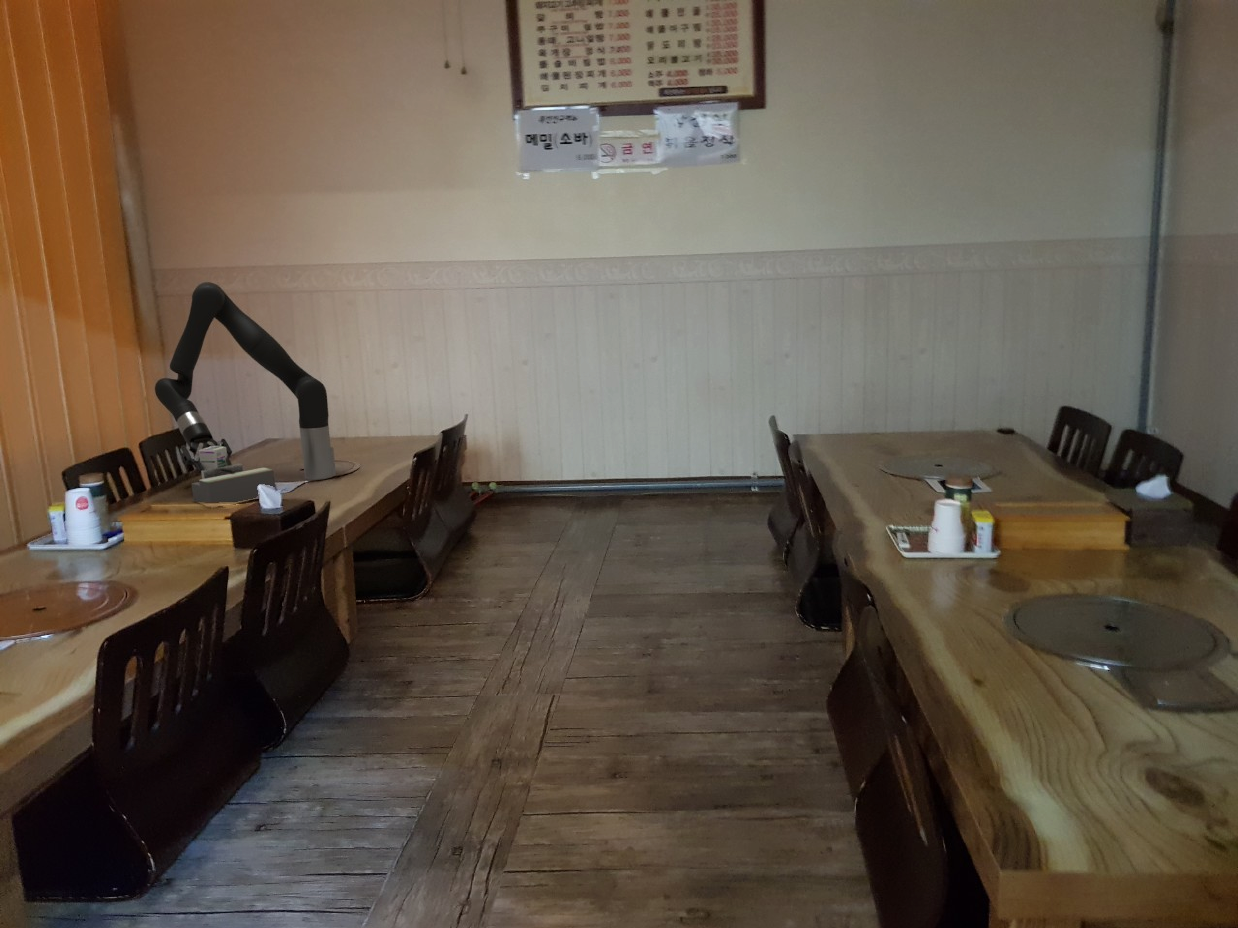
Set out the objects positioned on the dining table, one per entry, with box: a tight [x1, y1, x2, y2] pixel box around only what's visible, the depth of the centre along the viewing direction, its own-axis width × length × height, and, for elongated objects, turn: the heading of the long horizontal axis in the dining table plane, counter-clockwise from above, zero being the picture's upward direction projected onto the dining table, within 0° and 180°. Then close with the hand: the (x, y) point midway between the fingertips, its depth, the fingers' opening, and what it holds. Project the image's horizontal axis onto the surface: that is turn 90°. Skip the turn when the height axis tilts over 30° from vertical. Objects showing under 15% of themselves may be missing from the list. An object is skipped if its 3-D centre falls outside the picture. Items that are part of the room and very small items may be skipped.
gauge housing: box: [191, 467, 276, 503], centre depth 295 cm, size 20×13×8 cm, turn 137°
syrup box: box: [199, 446, 228, 470], centre depth 302 cm, size 6×6×14 cm
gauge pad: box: [201, 462, 244, 479], centre depth 297 cm, size 12×8×8 cm
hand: (216, 470), depth 302 cm, fingers closed on syrup box, 8 cm apart
